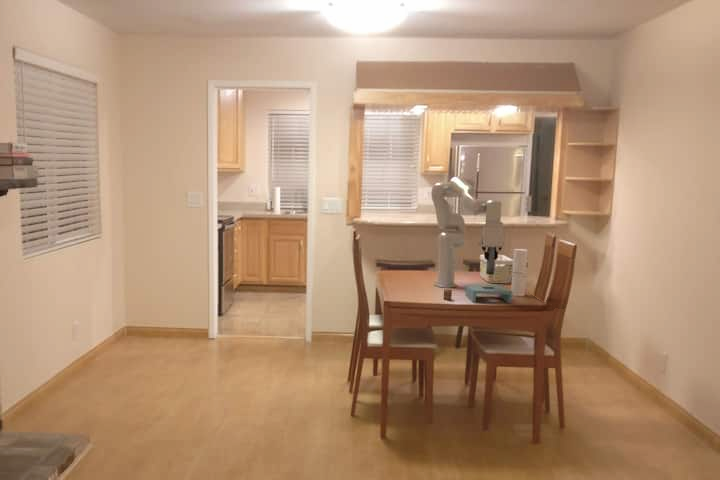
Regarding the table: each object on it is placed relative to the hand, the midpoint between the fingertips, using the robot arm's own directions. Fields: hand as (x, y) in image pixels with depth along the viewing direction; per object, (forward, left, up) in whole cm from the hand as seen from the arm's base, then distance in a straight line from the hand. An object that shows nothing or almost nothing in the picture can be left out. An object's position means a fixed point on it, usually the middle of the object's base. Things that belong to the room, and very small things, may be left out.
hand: (490, 259), depth 291 cm
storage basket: (-55, +19, -22) cm, 62 cm away
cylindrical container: (-13, +20, -21) cm, 32 cm away
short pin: (+3, -22, -21) cm, 31 cm away
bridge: (0, 0, -21) cm, 21 cm away
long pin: (0, 0, -8) cm, 8 cm away
